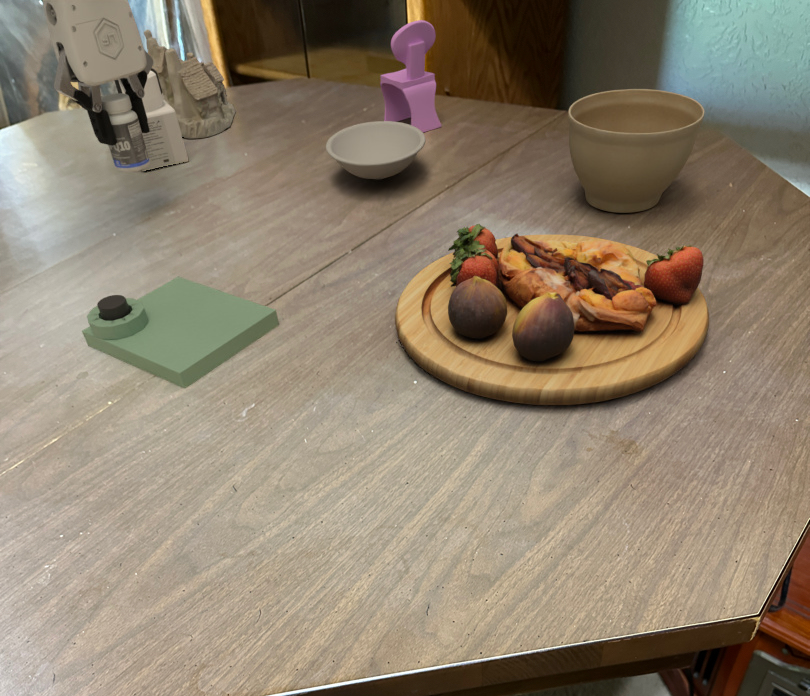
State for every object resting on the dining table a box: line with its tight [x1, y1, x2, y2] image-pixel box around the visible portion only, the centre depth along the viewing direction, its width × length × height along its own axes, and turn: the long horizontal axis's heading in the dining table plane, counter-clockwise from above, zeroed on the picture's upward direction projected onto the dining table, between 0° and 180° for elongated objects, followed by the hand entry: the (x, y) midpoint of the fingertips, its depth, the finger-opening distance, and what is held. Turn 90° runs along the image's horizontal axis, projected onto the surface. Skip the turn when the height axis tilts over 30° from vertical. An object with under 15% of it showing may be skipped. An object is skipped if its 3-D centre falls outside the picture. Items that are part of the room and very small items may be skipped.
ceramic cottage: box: [143, 29, 237, 140], centre depth 127 cm, size 16×16×15 cm
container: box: [113, 68, 189, 172], centre depth 114 cm, size 8×8×13 cm
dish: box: [325, 120, 426, 180], centre depth 105 cm, size 18×14×5 cm
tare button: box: [96, 294, 131, 321], centre depth 77 cm, size 3×3×2 cm
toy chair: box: [379, 19, 442, 133], centre depth 117 cm, size 8×9×15 cm
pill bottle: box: [101, 92, 150, 173], centre depth 96 cm, size 5×5×8 cm
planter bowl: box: [567, 88, 706, 214], centre depth 92 cm, size 16×16×11 cm
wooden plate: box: [394, 223, 710, 406], centre depth 73 cm, size 32×32×8 cm
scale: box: [81, 276, 280, 389], centre depth 78 cm, size 16×14×4 cm
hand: (124, 135), depth 96 cm, fingers closed on pill bottle, 4 cm apart
